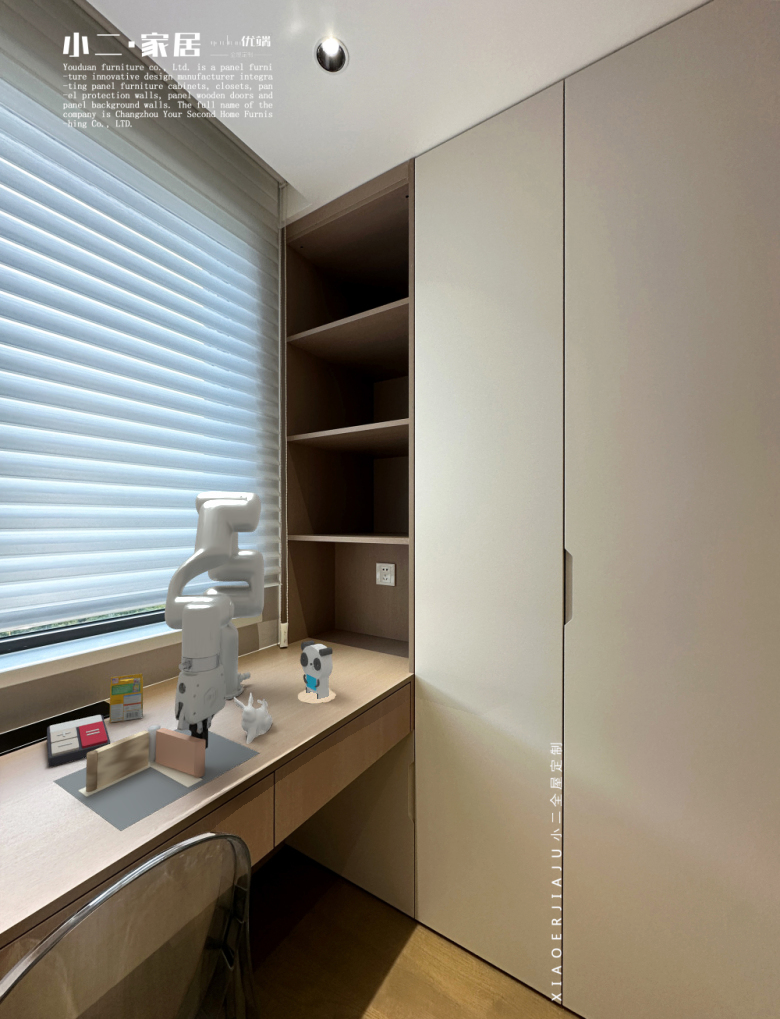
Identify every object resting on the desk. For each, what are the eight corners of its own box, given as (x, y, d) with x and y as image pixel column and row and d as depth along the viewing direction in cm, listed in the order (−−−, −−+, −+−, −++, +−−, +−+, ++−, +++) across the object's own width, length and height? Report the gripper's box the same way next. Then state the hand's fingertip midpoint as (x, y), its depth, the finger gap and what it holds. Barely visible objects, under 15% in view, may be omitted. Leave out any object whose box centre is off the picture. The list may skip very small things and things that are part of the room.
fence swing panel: (207, 772, 94) (208, 739, 94) (198, 778, 91) (199, 745, 91) (154, 754, 100) (155, 724, 100) (144, 759, 98) (145, 728, 98)
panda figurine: (288, 694, 136) (289, 643, 136) (320, 685, 144) (321, 636, 144) (310, 707, 127) (311, 653, 128) (344, 697, 135) (344, 645, 135)
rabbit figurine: (246, 749, 105) (247, 706, 105) (221, 742, 108) (221, 700, 108) (279, 727, 116) (280, 688, 116) (255, 721, 119) (256, 684, 119)
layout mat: (191, 725, 116) (191, 722, 116) (260, 755, 102) (260, 752, 102) (53, 784, 90) (53, 780, 90) (120, 834, 77) (120, 830, 77)
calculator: (48, 754, 95) (47, 723, 107) (48, 775, 95) (46, 741, 107) (110, 739, 102) (102, 711, 114) (110, 758, 102) (102, 728, 114)
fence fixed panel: (143, 763, 97) (144, 729, 97) (148, 765, 96) (149, 732, 96) (84, 790, 88) (84, 753, 88) (88, 793, 87) (89, 756, 87)
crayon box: (142, 713, 122) (143, 669, 122) (142, 718, 119) (143, 673, 119) (110, 718, 119) (111, 673, 119) (109, 723, 116) (110, 677, 116)
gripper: (185, 676, 89) (184, 771, 89) (239, 654, 102) (238, 736, 103) (157, 670, 92) (156, 761, 92) (213, 649, 105) (212, 729, 106)
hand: (199, 748), depth 97 cm, fingers closed
